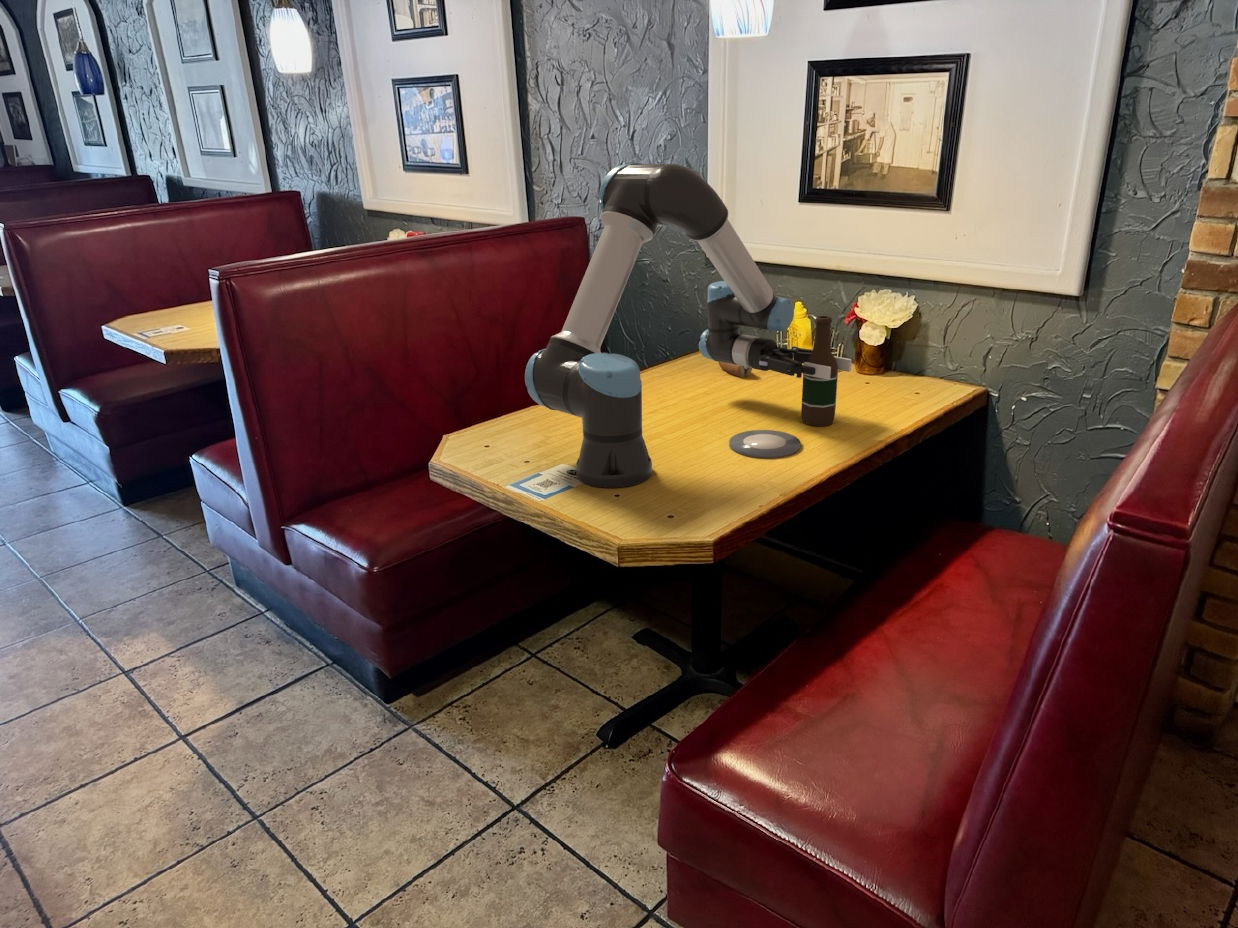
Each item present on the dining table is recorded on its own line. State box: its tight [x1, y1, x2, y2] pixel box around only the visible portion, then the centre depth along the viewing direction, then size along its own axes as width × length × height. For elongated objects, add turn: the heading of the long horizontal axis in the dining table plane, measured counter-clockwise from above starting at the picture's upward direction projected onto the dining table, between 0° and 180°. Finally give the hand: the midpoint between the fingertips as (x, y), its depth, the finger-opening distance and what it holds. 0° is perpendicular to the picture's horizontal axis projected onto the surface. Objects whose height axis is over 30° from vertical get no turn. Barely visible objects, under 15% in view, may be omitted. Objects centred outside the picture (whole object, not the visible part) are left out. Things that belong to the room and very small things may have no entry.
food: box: [717, 361, 753, 378], centre depth 233 cm, size 14×6×5 cm, turn 22°
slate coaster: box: [728, 429, 801, 459], centre depth 180 cm, size 15×15×1 cm
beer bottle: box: [800, 315, 839, 427], centre depth 188 cm, size 8×8×24 cm
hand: (839, 369), depth 185 cm, fingers closed on beer bottle, 7 cm apart
